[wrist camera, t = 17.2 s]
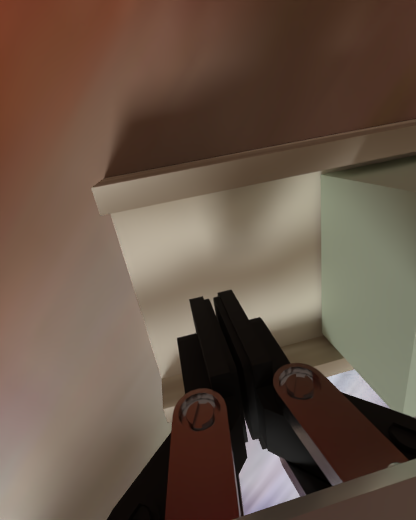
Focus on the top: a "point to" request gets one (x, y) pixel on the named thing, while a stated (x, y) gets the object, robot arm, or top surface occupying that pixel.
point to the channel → (238, 240)
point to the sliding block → (372, 274)
